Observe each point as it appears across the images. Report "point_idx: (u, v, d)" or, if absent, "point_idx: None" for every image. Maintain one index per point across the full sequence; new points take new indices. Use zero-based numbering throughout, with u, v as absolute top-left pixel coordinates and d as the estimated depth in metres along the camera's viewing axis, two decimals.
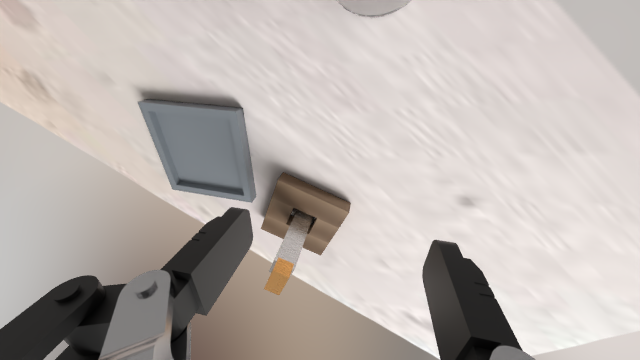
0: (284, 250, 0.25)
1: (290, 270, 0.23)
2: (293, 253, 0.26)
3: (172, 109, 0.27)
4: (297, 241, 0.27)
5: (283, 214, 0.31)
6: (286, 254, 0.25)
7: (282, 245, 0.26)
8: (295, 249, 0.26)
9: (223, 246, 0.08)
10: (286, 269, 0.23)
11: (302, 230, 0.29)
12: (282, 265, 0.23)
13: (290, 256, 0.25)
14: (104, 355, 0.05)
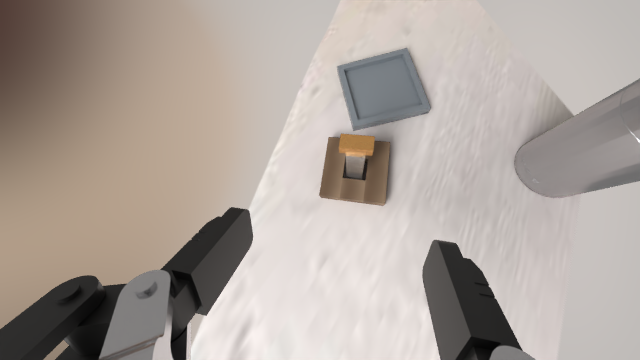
0: None
1: (372, 152, 0.27)
2: None
3: (412, 68, 0.40)
4: None
5: None
6: None
7: None
8: None
9: (223, 246, 0.08)
10: None
11: None
12: None
13: None
14: (104, 355, 0.05)
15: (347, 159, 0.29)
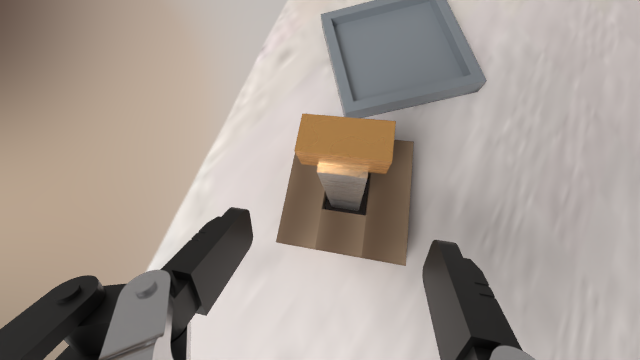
0: None
1: None
2: None
3: (448, 15, 0.23)
4: None
5: None
6: None
7: None
8: None
9: (222, 246, 0.08)
10: None
11: None
12: None
13: None
14: (104, 355, 0.05)
15: (324, 179, 0.12)
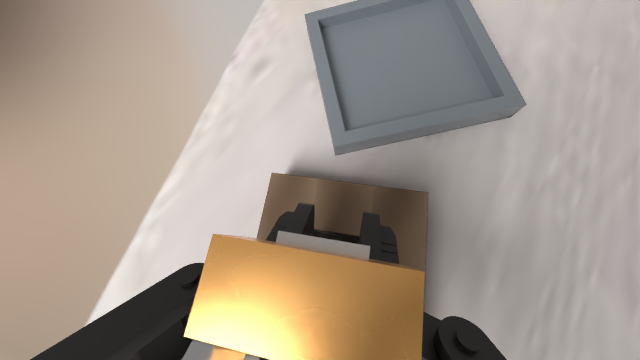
0: None
1: None
2: None
3: (470, 16, 0.17)
4: None
5: (337, 217, 0.14)
6: None
7: None
8: None
9: None
10: None
11: None
12: None
13: None
14: None
15: None
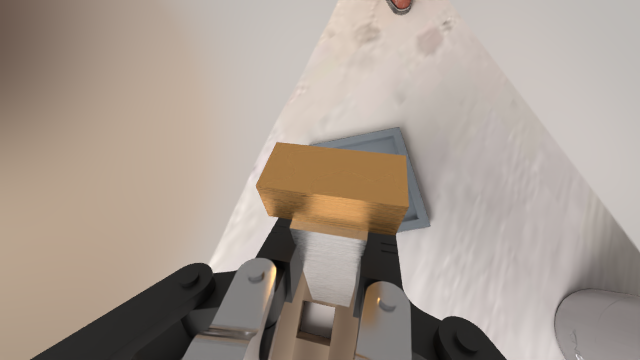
0: None
1: None
2: None
3: None
4: None
5: None
6: None
7: None
8: None
9: None
10: None
11: None
12: None
13: None
14: (214, 325, 0.06)
15: (300, 245, 0.08)
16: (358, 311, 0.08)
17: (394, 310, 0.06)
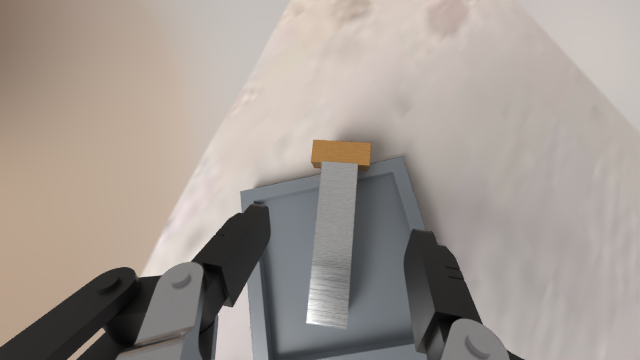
0: None
1: None
2: None
3: (414, 218, 0.16)
4: None
5: None
6: None
7: None
8: None
9: (247, 241, 0.09)
10: None
11: None
12: None
13: None
14: (140, 340, 0.05)
15: (323, 179, 0.15)
16: (425, 347, 0.07)
17: (491, 358, 0.05)
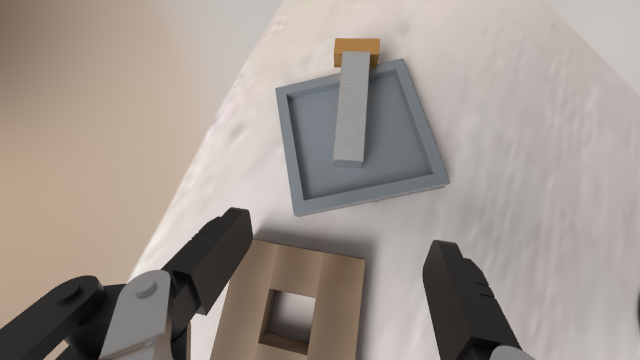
0: None
1: None
2: None
3: (412, 98, 0.21)
4: None
5: (291, 280, 0.17)
6: None
7: None
8: None
9: (223, 247, 0.08)
10: None
11: None
12: None
13: None
14: (104, 355, 0.05)
15: (344, 63, 0.20)
16: None
17: None
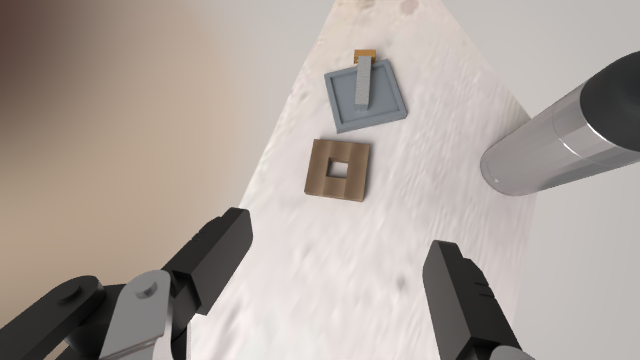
0: None
1: (375, 53, 0.43)
2: None
3: (391, 78, 0.43)
4: (369, 75, 0.43)
5: (338, 153, 0.40)
6: None
7: None
8: None
9: (223, 247, 0.08)
10: None
11: None
12: (374, 57, 0.44)
13: None
14: (104, 355, 0.05)
15: (359, 61, 0.43)
16: None
17: None
